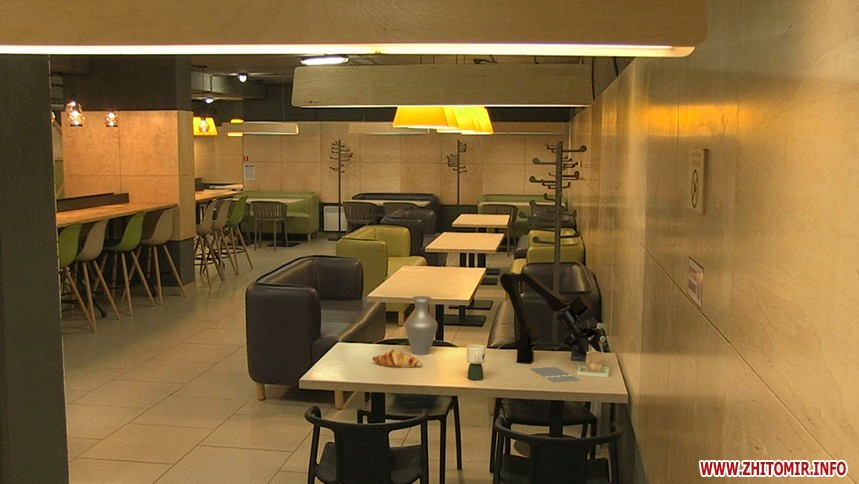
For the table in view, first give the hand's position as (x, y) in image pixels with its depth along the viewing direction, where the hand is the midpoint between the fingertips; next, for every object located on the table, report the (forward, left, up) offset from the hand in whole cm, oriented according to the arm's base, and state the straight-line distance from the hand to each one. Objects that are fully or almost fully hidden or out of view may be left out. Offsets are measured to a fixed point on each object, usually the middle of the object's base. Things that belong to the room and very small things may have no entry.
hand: (593, 354), depth 338 cm
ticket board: (-14, -9, -9) cm, 19 cm away
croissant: (-79, -9, -9) cm, 80 cm away
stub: (0, 0, -8) cm, 8 cm away
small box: (-7, +29, -9) cm, 31 cm away
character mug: (-44, -20, -9) cm, 49 cm away
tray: (0, 0, -9) cm, 9 cm away
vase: (-75, +16, -9) cm, 77 cm away
